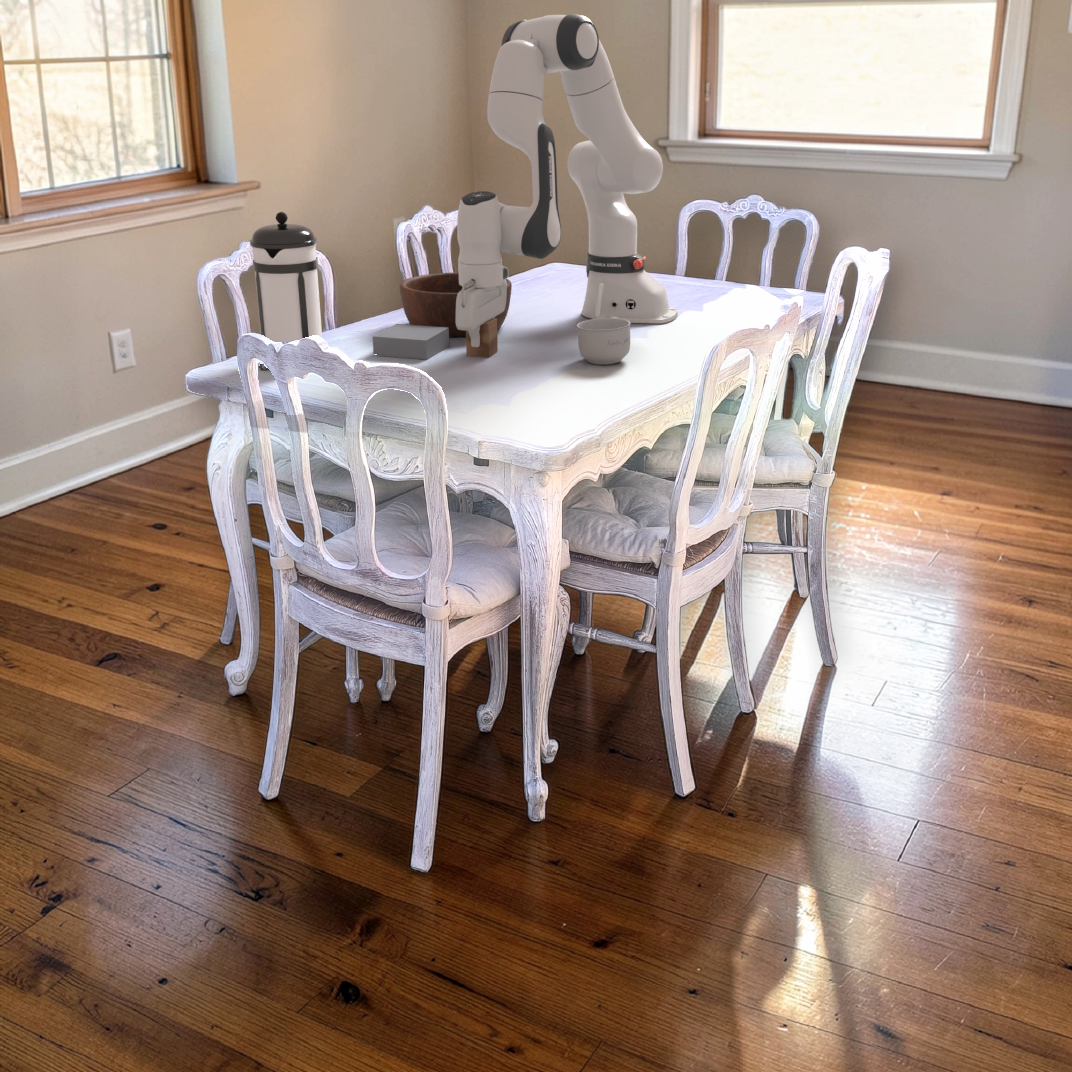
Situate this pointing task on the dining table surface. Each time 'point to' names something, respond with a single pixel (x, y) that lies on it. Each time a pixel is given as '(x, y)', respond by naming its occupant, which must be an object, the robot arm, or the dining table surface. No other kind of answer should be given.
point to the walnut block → (484, 340)
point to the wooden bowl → (438, 301)
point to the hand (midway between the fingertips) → (481, 342)
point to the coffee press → (286, 281)
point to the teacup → (604, 340)
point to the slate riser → (411, 341)
